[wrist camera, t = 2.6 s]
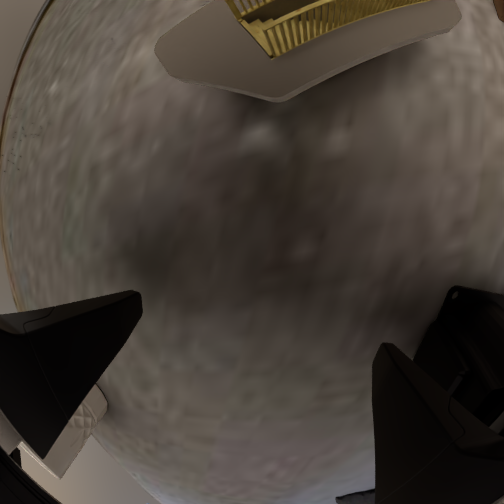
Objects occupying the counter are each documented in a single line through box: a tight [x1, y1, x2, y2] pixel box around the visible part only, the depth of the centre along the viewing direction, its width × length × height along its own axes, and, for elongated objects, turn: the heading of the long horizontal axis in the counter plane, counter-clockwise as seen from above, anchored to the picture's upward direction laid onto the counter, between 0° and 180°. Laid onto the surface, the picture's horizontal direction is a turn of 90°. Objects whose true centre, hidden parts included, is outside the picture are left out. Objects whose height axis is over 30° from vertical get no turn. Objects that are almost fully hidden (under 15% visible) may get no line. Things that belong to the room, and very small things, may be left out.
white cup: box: [20, 384, 107, 480], centre depth 15 cm, size 8×8×10 cm
